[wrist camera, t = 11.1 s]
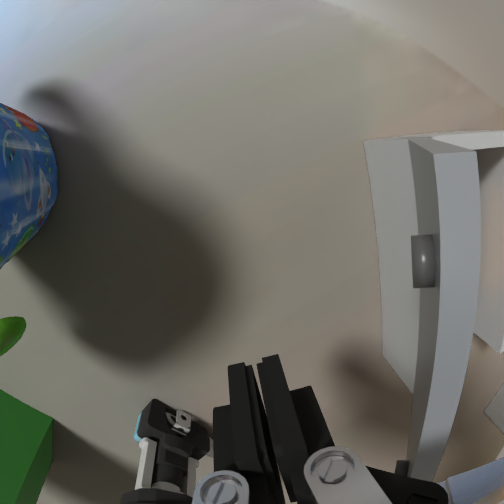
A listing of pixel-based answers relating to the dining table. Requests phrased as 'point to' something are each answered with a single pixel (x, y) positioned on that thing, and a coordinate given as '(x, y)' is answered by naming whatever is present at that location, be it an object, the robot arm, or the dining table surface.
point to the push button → (167, 456)
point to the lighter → (497, 409)
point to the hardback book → (23, 450)
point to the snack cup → (22, 195)
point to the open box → (405, 225)
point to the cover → (442, 293)
